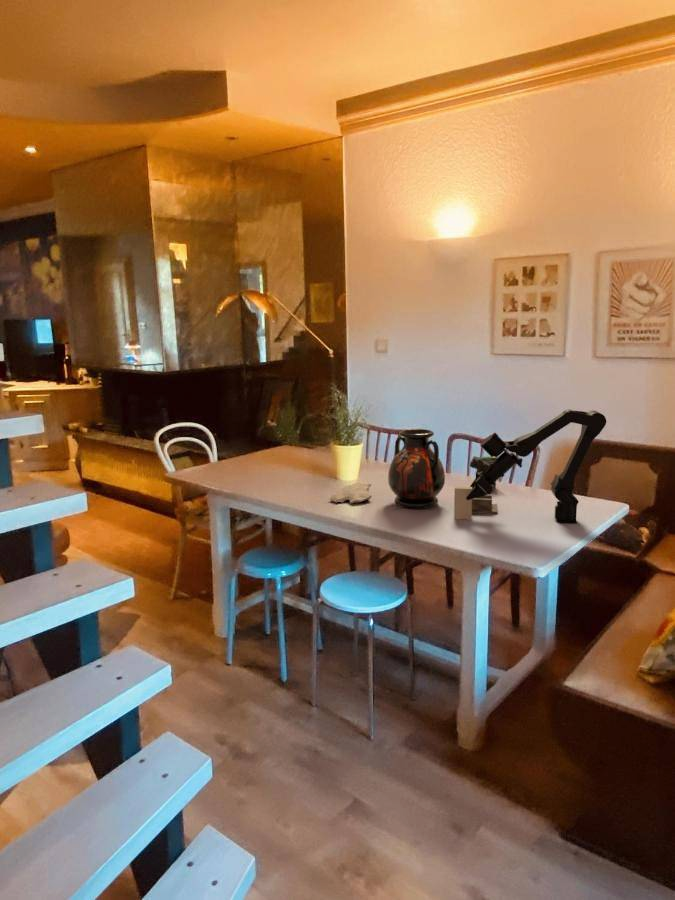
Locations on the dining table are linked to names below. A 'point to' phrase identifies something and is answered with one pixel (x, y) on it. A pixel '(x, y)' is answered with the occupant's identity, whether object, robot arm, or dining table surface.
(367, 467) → the dining table surface
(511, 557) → the dining table surface
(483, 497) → the slot rack
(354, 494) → the rock
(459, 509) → the tan rectangular block
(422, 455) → the amphora vase
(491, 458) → the coffee box
